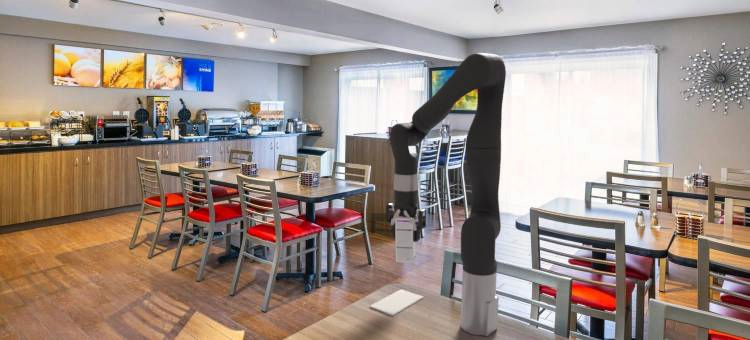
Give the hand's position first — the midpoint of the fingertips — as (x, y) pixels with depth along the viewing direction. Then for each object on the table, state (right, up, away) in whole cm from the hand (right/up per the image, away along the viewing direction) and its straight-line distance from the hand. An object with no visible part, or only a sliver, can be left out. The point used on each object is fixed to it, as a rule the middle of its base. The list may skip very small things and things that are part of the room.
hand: (405, 238), depth 148 cm
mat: (-3, -20, 0) cm, 20 cm away
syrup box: (0, -7, +1) cm, 7 cm away
